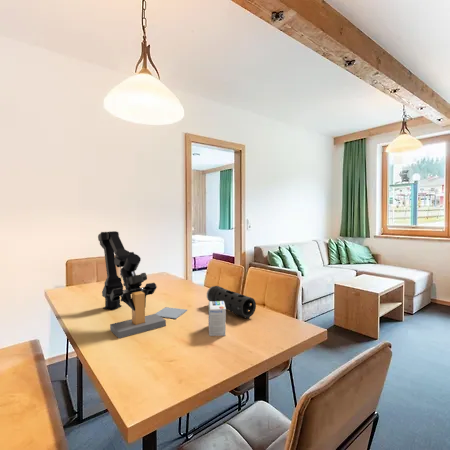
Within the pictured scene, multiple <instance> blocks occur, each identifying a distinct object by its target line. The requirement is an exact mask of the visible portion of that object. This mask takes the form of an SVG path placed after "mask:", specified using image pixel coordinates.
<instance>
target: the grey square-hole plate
mask: <svg viewBox="0 0 450 450" xmlns="http://www.w3.org/2000/svg"><path fill="white" fill-rule="evenodd" d="M166 323H167V320H166V319H165V318H163V317H160V316H158V315H157V314H155V313H152V314H148V315H145V323H142V324H138V325H135V324H133V323H132V318H131V319H127V320H122V321H117V322H113V323H110V324H109V327H110V328H109V330H110V332H112V334H113V335H114V336H115V337H118V338H119V339H122V338H125V337H129V336H133V335H137V334H141V333H146V332H148V331H151V330H157V329H159V328H163V327H166V326H167V324H166ZM118 338H117V339H118Z"/></svg>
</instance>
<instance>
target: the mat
mask: <svg viewBox="0 0 450 450" xmlns="http://www.w3.org/2000/svg"><path fill="white" fill-rule="evenodd" d="M186 312H188V309H185V308H177V307H167V306H166V307H164V308H162V309H161V310H158V311H157V312H155V313H154V314H157V315H158V316H160V317H162V318H163V319H165V318H166V319H173V320H177V319H178V318H179V317H180V316H182V315H183V314H185V313H186Z"/></svg>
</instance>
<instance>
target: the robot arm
mask: <svg viewBox="0 0 450 450" xmlns="http://www.w3.org/2000/svg"><path fill="white" fill-rule="evenodd" d="M97 238H98V242H99V245H100V247H101V248H102V249H103V251H104V252H103V253H104V261H105V270H106V279H105V281H104V285H103V289H102V292H101V294H102V295H101V296H102V297H103V298H104V300H105V301H104V302H105V304H104V305H105V306H104V307H103V309H104V310H110V311H113V310H117V309H118V308H120V307H122V306H123V305H121V302H123V303H124V304H126V305H127V306H128V307H130V309H131V311H132V310H133V311H135V306H134V303H133V301H132V293H134V292H139V291H141V292H143V293H145V307H146V304H147V303H146V301H147V296H148V295H153V294H154V293H155V291H156V289H157V288H158V286H157V284H156V283H155V282H148V283H146V284H145V286H144V287H141V286H142V283H144V281H147V279H148V276H147V273H146V272H141V273H140V274H136V271H137V270H138V267H139V264H140V263H141V261H142V260H141V259H142V258H141V257H140V256H139V255H138V254H136V253H134V251H129V250H126V248H125V247H124V245H123V242H122V240H121V239H120V238H121V237H120V233H119V231H117V230H116V231H101V232H100V233H99V234H98V236H97ZM117 268H121V269H120V270H119V271H120V276H121V277H119V275H118V273H117ZM122 281H123V282H122Z"/></svg>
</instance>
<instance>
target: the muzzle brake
mask: <svg viewBox="0 0 450 450" xmlns="http://www.w3.org/2000/svg"><path fill="white" fill-rule="evenodd" d="M206 298H207V300H208V302H209V301H224V304H225V307H226V310H228V311H230V313H233V314H234V315H236V316H239V317H241V318H243V319H246V320H249V319H250V318H251V317H252V316H253V315H254V313H255V311H256V308H257V303H256V300H255V299H254V298H253V297H250V296H247V295H245V294H243V293H242V294H240V293H238V292H235V291H232V290H229V289H227V288H224V287H222V286H219V285H212V286H211V287H209V288H208V290H207V292H206Z"/></svg>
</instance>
